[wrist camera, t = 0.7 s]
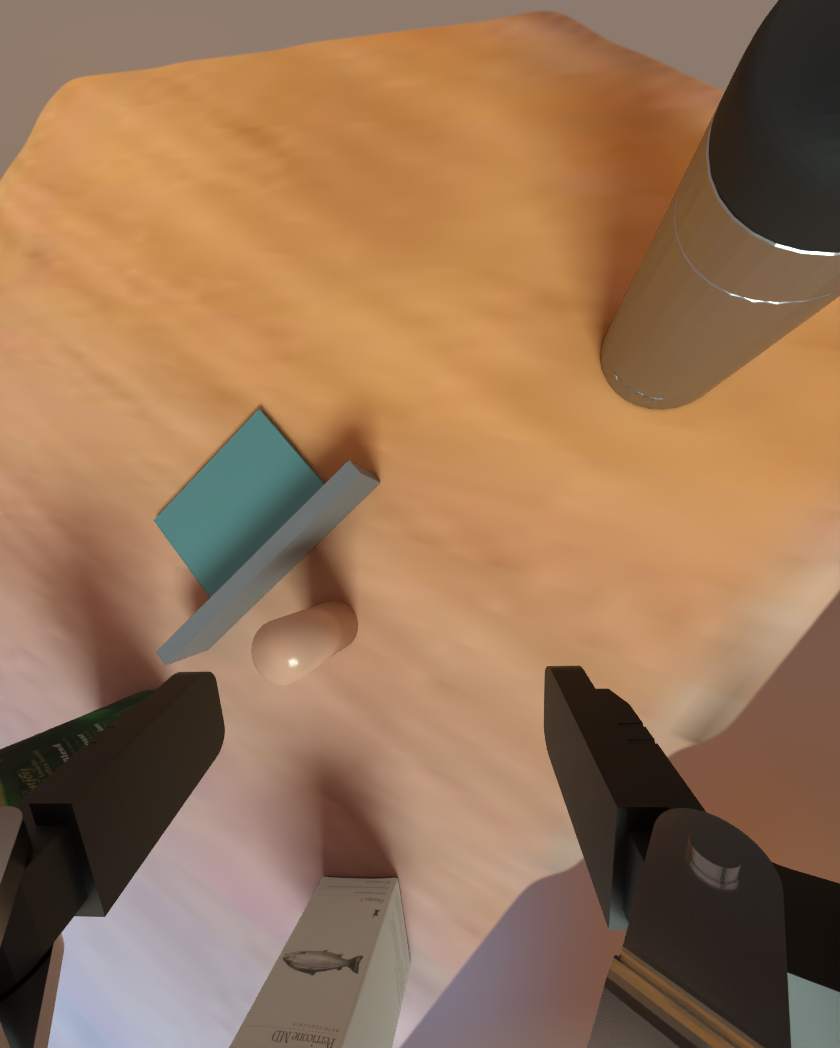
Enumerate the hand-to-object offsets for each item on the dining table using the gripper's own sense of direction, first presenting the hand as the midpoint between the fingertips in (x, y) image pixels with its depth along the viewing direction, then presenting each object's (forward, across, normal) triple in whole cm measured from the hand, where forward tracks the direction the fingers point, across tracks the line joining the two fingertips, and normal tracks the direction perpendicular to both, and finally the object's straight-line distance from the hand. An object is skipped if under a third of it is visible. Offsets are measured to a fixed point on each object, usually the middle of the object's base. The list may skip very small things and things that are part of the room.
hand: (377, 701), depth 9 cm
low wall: (+27, +13, +5) cm, 30 cm away
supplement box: (+18, +6, +35) cm, 40 cm away
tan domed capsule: (+25, +9, +10) cm, 28 cm away
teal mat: (+29, +18, 0) cm, 34 cm away
